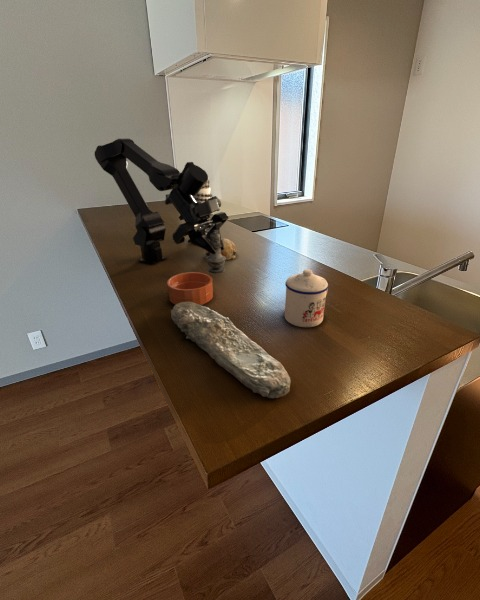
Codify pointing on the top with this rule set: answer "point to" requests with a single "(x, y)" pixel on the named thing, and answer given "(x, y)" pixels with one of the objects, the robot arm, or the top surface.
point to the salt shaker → (215, 255)
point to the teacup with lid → (305, 299)
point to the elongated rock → (232, 349)
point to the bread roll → (227, 249)
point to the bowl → (190, 288)
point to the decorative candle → (203, 195)
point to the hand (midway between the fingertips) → (219, 251)
